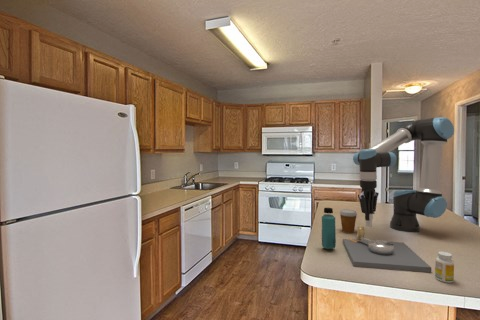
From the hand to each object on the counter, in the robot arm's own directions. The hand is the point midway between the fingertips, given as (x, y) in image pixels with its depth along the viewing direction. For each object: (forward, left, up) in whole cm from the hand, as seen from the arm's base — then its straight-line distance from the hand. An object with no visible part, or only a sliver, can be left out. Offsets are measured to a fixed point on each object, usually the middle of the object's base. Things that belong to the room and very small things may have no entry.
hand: (368, 226), depth 132 cm
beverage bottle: (+21, +12, -9) cm, 26 cm away
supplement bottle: (-17, +34, -9) cm, 39 cm away
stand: (-1, +15, -9) cm, 17 cm away
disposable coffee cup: (+7, -19, -9) cm, 22 cm away
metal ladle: (+1, +11, -7) cm, 13 cm away
